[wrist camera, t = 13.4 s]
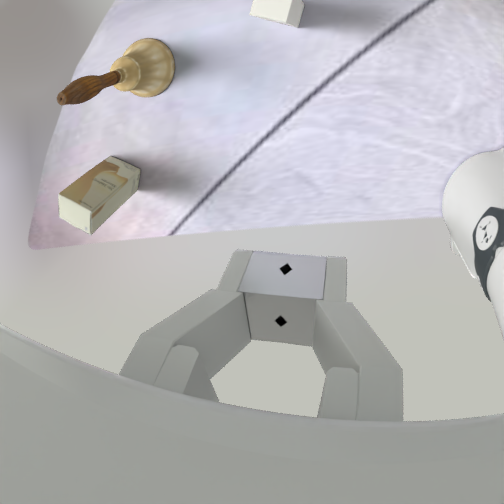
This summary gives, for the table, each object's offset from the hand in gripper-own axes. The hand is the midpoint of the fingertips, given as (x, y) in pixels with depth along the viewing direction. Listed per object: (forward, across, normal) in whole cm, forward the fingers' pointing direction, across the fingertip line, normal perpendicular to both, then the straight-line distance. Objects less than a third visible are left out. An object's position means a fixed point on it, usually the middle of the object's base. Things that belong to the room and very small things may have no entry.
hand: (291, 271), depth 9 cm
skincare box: (+30, +30, +10) cm, 44 cm away
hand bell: (+30, +22, -6) cm, 37 cm away
